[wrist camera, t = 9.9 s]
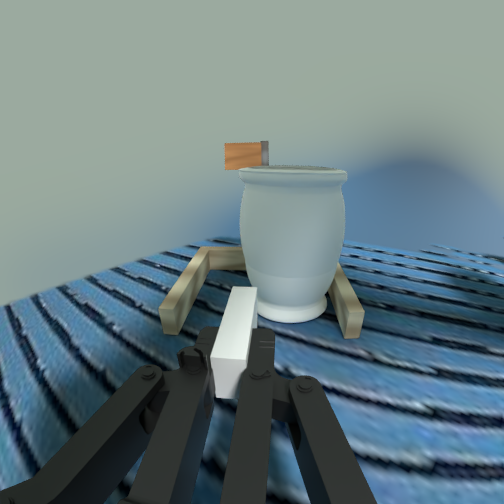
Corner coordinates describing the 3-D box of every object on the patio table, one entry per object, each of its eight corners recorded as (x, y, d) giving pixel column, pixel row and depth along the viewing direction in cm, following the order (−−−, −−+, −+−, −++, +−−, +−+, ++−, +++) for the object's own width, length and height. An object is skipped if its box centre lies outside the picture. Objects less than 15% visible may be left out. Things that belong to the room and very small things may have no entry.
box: (359, 338, 24) (382, 138, 18) (163, 333, 26) (138, 140, 20) (328, 266, 41) (334, 143, 35) (202, 265, 42) (195, 144, 36)
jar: (250, 337, 26) (246, 171, 20) (237, 287, 35) (233, 165, 30) (351, 322, 27) (368, 173, 22) (316, 280, 37) (322, 165, 31)
